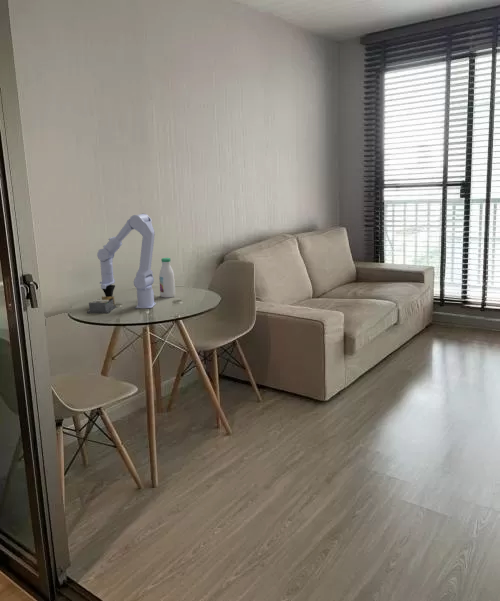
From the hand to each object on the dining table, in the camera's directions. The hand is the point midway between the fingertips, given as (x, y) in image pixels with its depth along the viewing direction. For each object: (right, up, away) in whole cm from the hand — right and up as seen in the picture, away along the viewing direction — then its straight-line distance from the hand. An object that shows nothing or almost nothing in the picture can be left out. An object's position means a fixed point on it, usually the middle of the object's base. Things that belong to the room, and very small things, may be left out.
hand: (109, 300), depth 266 cm
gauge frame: (-1, -5, -10) cm, 11 cm away
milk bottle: (+26, +2, +16) cm, 31 cm away
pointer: (-1, -3, -11) cm, 12 cm away
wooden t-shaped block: (0, -4, -5) cm, 6 cm away
